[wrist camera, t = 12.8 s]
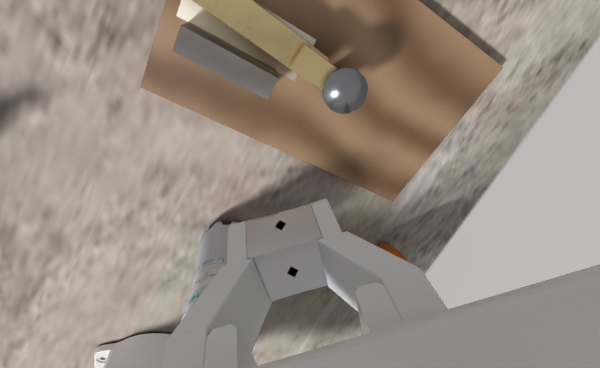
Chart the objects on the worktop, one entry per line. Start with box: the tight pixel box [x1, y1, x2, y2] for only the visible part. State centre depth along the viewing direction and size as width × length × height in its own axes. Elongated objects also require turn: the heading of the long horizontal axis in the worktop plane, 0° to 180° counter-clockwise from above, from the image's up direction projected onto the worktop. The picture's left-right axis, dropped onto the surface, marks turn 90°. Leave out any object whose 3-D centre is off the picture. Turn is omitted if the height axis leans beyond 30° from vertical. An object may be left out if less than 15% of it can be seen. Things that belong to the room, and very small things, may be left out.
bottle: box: [181, 222, 237, 321], centre depth 31 cm, size 7×7×20 cm
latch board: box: [140, 0, 503, 201], centre depth 28 cm, size 18×30×5 cm, turn 60°
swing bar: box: [192, 0, 368, 114], centre depth 24 cm, size 17×4×5 cm, turn 55°
